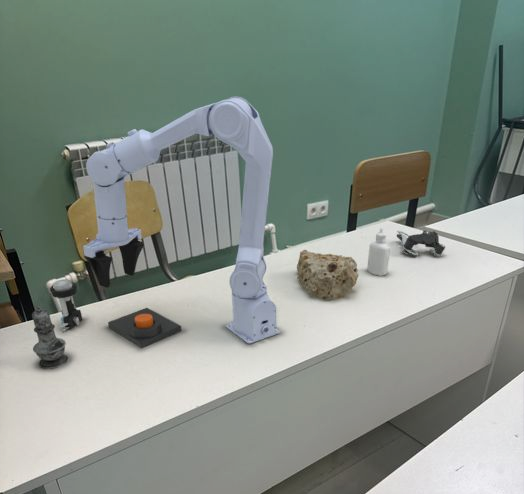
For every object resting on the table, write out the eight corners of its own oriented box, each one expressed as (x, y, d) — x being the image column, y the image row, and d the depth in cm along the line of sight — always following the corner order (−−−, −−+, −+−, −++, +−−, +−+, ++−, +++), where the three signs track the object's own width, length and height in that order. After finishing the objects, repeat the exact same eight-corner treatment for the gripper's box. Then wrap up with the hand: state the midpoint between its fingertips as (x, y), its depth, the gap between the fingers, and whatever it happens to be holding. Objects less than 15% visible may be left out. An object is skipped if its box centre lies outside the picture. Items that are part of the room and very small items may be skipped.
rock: (287, 275, 130) (295, 239, 126) (336, 283, 133) (346, 248, 130) (304, 299, 112) (315, 257, 108) (361, 308, 115) (373, 267, 111)
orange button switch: (181, 331, 102) (180, 318, 101) (141, 348, 96) (139, 335, 95) (147, 312, 110) (145, 300, 109) (108, 327, 104) (106, 314, 103)
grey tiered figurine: (37, 357, 94) (20, 302, 88) (68, 350, 96) (54, 296, 90) (37, 372, 90) (20, 315, 83) (70, 365, 92) (55, 309, 85)
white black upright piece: (74, 334, 102) (63, 291, 97) (51, 332, 103) (39, 289, 98) (89, 319, 108) (79, 278, 103) (67, 318, 109) (57, 277, 104)
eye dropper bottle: (381, 268, 131) (386, 225, 125) (388, 276, 127) (394, 231, 120) (365, 269, 131) (370, 226, 125) (372, 277, 126) (377, 232, 120)
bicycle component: (394, 233, 150) (397, 251, 138) (406, 213, 146) (410, 229, 134) (428, 249, 151) (434, 268, 138) (441, 229, 147) (448, 246, 134)
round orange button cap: (156, 324, 99) (155, 317, 98) (142, 330, 97) (140, 323, 96) (147, 319, 101) (146, 311, 100) (132, 325, 99) (131, 317, 98)
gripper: (121, 204, 100) (125, 265, 108) (68, 219, 89) (77, 286, 96) (148, 210, 98) (150, 272, 105) (96, 227, 87) (103, 295, 94)
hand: (117, 279), depth 100 cm, fingers open, 7 cm apart
